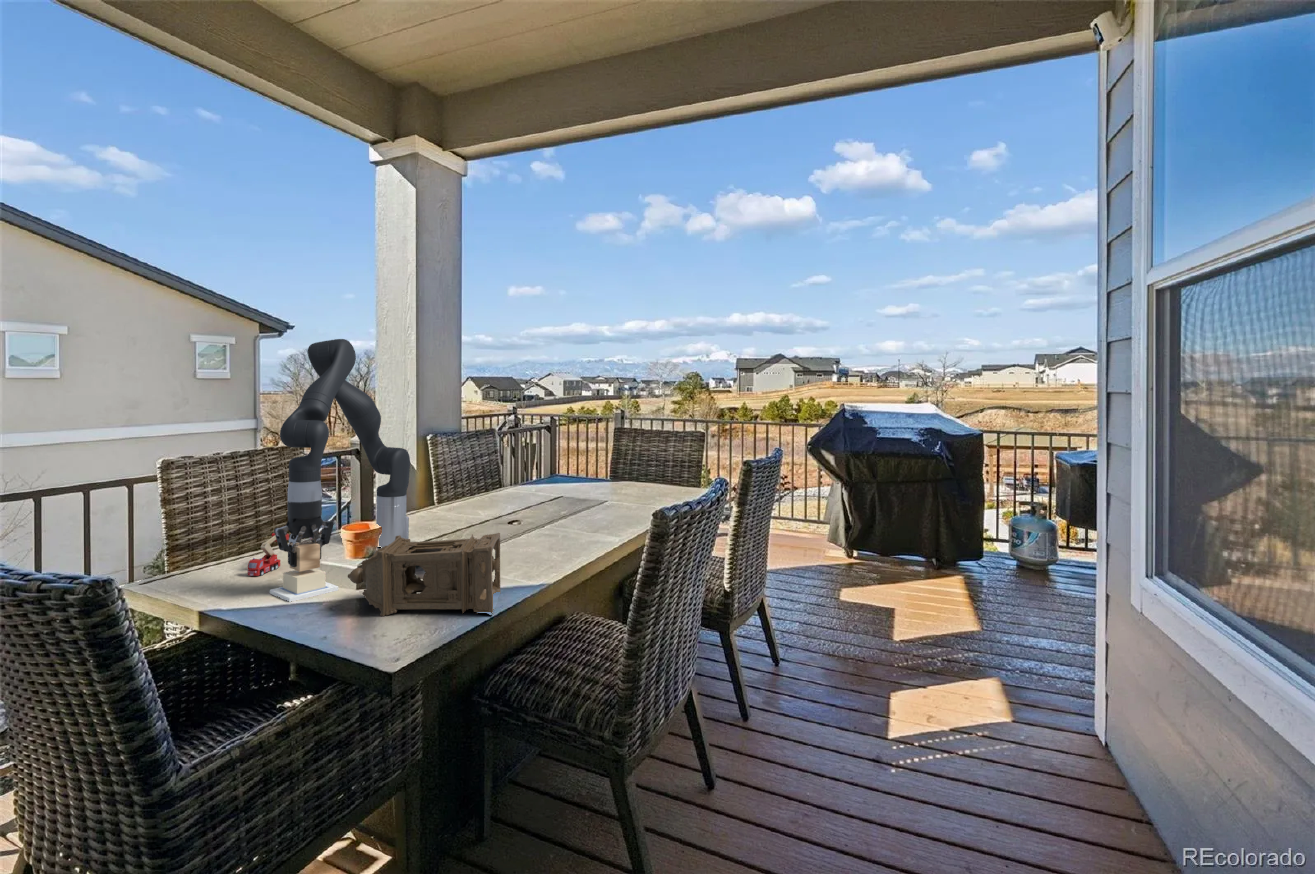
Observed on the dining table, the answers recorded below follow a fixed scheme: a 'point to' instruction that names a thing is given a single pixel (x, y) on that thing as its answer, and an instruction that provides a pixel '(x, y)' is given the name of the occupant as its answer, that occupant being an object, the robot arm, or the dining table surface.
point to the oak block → (307, 556)
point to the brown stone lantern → (432, 575)
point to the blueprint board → (302, 596)
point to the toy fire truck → (265, 559)
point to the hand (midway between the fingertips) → (304, 563)
